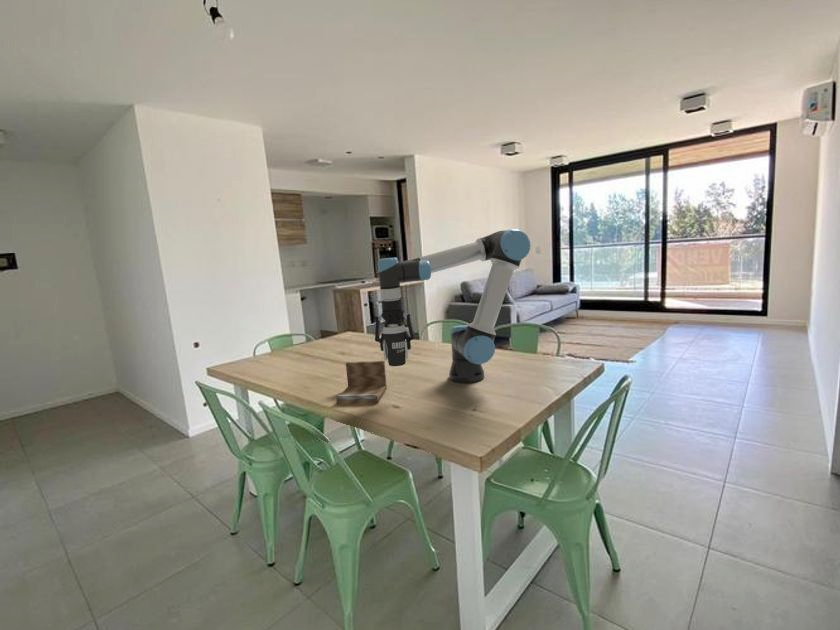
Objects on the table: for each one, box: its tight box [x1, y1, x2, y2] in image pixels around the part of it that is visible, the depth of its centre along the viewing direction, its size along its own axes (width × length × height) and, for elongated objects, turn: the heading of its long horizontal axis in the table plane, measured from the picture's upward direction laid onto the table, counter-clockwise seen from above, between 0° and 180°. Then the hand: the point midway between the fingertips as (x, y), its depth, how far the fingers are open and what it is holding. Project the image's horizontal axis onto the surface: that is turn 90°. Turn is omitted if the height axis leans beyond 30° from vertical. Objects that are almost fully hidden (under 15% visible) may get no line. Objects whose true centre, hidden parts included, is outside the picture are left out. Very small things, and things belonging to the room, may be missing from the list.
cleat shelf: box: [335, 360, 388, 405], centre depth 168 cm, size 16×17×12 cm
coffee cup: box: [380, 323, 407, 367], centre depth 161 cm, size 10×10×15 cm
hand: (396, 358), depth 162 cm, fingers closed on coffee cup, 8 cm apart
